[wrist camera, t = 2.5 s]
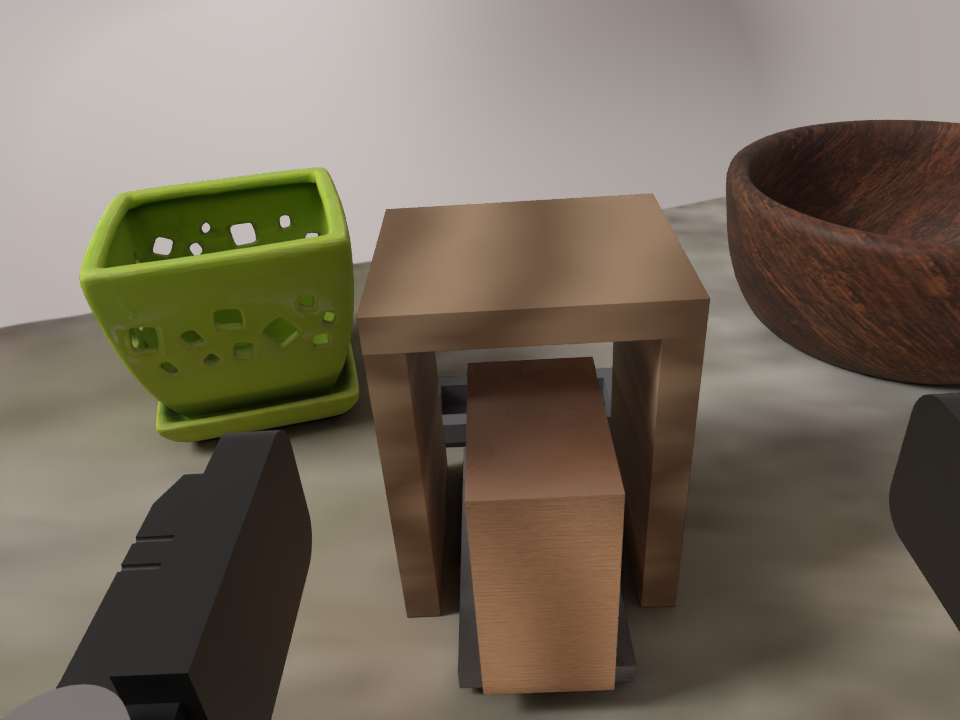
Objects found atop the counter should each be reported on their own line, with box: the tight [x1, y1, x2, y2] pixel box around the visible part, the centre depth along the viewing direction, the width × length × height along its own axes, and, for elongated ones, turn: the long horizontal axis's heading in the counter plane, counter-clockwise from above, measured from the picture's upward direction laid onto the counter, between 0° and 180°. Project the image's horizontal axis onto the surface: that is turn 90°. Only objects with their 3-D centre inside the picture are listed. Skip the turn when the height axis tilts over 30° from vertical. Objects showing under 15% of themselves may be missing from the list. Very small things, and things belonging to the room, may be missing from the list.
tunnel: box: [356, 194, 710, 617], centre depth 34 cm, size 12×10×16 cm
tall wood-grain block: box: [458, 357, 636, 695], centre depth 33 cm, size 7×15×11 cm, turn 0°
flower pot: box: [79, 168, 359, 442], centre depth 47 cm, size 14×14×13 cm
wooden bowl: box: [726, 120, 960, 385], centre depth 52 cm, size 25×25×10 cm
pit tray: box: [438, 368, 612, 447], centre depth 46 cm, size 12×5×2 cm, turn 90°
